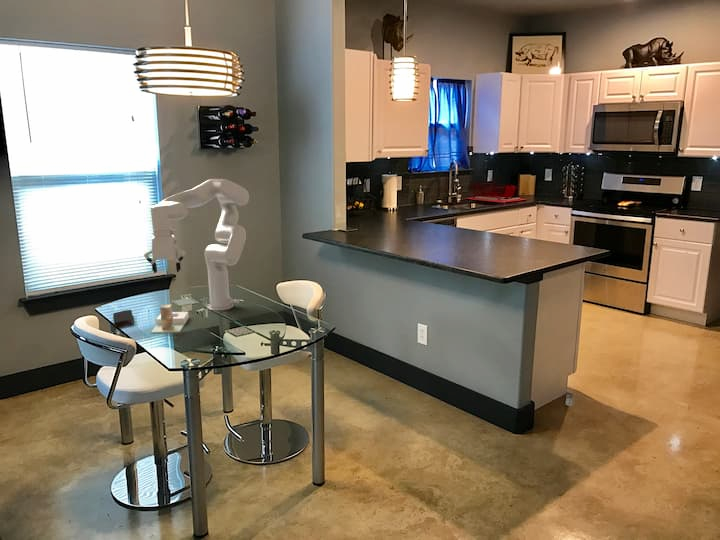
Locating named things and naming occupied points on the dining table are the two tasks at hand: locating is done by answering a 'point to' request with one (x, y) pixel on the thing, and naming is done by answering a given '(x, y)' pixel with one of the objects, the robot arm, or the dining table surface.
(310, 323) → the dining table surface
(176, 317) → the socket block
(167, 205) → the robot arm
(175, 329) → the mat
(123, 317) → the black sponge
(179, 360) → the dining table surface
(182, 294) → the dining table surface
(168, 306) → the plug
